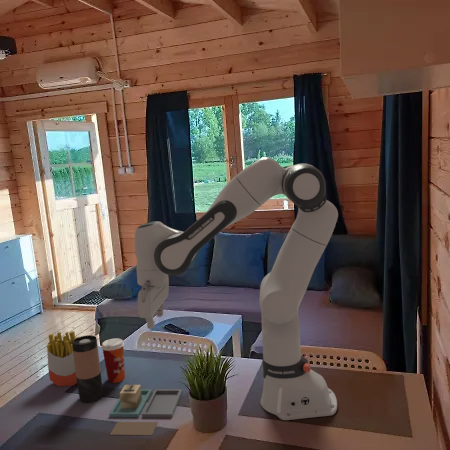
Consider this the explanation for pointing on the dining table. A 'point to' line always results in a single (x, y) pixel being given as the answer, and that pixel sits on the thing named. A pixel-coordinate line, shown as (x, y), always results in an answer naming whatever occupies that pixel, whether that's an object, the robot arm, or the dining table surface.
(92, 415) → the dining table surface
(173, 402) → the gray bin
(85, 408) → the dining table surface
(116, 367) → the paper cup
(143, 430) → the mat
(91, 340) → the travel mug
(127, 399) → the letter cube
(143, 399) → the teal bin
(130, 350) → the dining table surface
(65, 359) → the french fries container
